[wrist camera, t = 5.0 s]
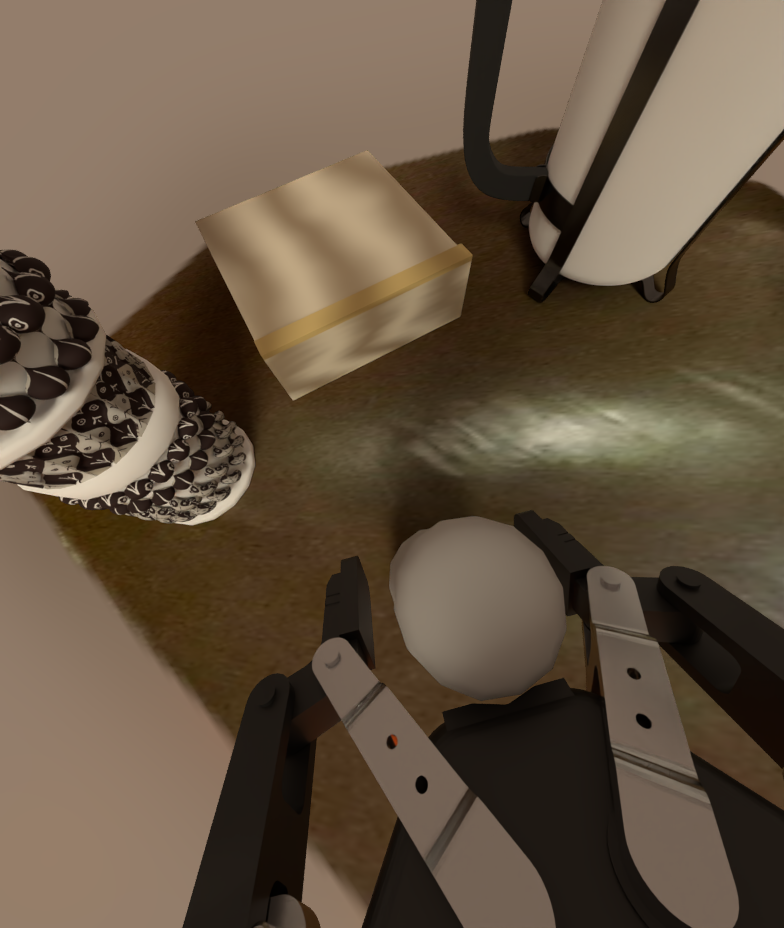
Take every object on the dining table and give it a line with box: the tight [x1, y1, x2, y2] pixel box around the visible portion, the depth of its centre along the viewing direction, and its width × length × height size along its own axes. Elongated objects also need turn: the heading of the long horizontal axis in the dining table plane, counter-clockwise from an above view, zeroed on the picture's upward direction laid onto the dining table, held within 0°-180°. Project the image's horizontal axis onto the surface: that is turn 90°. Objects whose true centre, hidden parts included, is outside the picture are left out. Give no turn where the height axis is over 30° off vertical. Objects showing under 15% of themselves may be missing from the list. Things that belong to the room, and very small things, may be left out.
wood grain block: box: [195, 150, 473, 400], centre depth 25 cm, size 16×16×5 cm
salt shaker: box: [389, 516, 566, 701], centre depth 13 cm, size 6×6×13 cm
